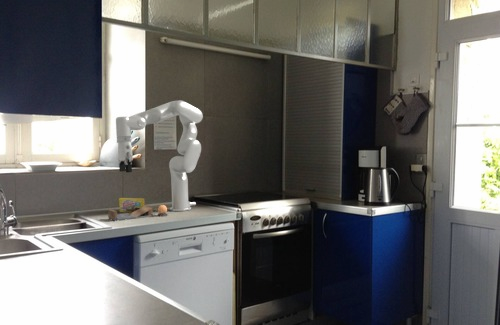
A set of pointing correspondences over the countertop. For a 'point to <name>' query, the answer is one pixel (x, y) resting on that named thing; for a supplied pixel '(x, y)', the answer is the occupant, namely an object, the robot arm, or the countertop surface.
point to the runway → (126, 216)
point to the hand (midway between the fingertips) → (125, 171)
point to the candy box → (130, 204)
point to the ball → (162, 209)
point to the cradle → (162, 214)
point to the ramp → (144, 210)
